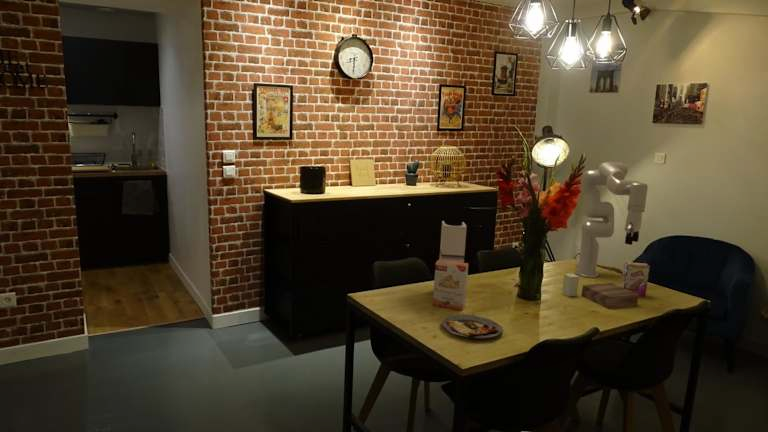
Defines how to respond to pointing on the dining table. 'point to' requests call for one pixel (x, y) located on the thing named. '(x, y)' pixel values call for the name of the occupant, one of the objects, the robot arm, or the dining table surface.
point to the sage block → (570, 284)
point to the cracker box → (450, 284)
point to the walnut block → (610, 295)
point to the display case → (453, 242)
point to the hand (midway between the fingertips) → (631, 242)
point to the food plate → (472, 326)
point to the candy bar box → (635, 277)
